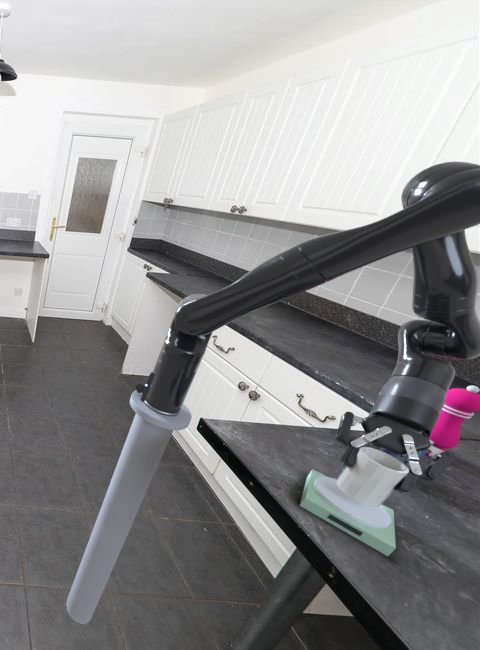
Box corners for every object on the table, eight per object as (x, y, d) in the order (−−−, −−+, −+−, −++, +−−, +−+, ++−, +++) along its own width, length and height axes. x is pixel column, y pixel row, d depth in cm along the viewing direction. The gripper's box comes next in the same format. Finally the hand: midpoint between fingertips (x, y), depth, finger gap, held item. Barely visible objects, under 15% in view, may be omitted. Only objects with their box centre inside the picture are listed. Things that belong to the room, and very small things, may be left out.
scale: (299, 506, 67) (307, 495, 66) (307, 476, 75) (314, 466, 74) (387, 557, 59) (398, 546, 58) (386, 518, 67) (396, 507, 65)
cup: (334, 489, 66) (359, 456, 62) (337, 474, 69) (360, 441, 66) (380, 513, 61) (409, 478, 58) (380, 495, 65) (408, 462, 62)
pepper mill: (419, 439, 91) (469, 378, 83) (454, 460, 84) (512, 397, 77) (394, 436, 91) (441, 376, 83) (427, 457, 84) (482, 394, 77)
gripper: (361, 379, 67) (325, 449, 64) (481, 421, 57) (445, 505, 55) (348, 392, 72) (315, 457, 70) (456, 431, 63) (422, 509, 60)
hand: (372, 477), depth 62 cm, fingers closed on cup, 6 cm apart
